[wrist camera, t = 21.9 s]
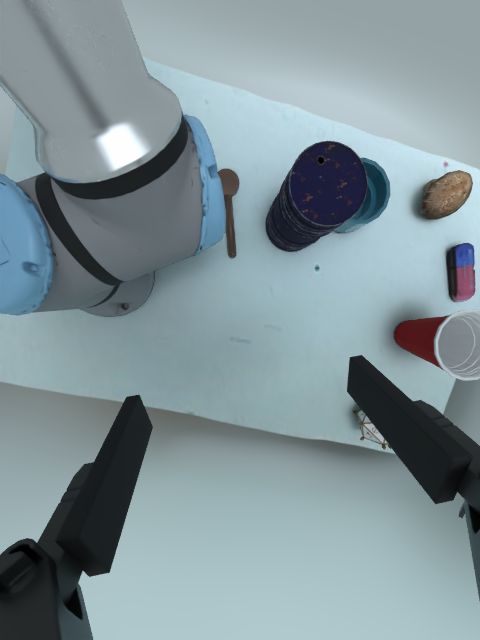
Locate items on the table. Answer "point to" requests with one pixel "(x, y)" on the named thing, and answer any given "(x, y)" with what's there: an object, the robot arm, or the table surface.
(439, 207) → the mushroom
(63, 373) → the table surface
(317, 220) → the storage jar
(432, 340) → the plastic cup
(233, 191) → the spoon
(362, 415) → the game die
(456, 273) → the eraser
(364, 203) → the bowl
